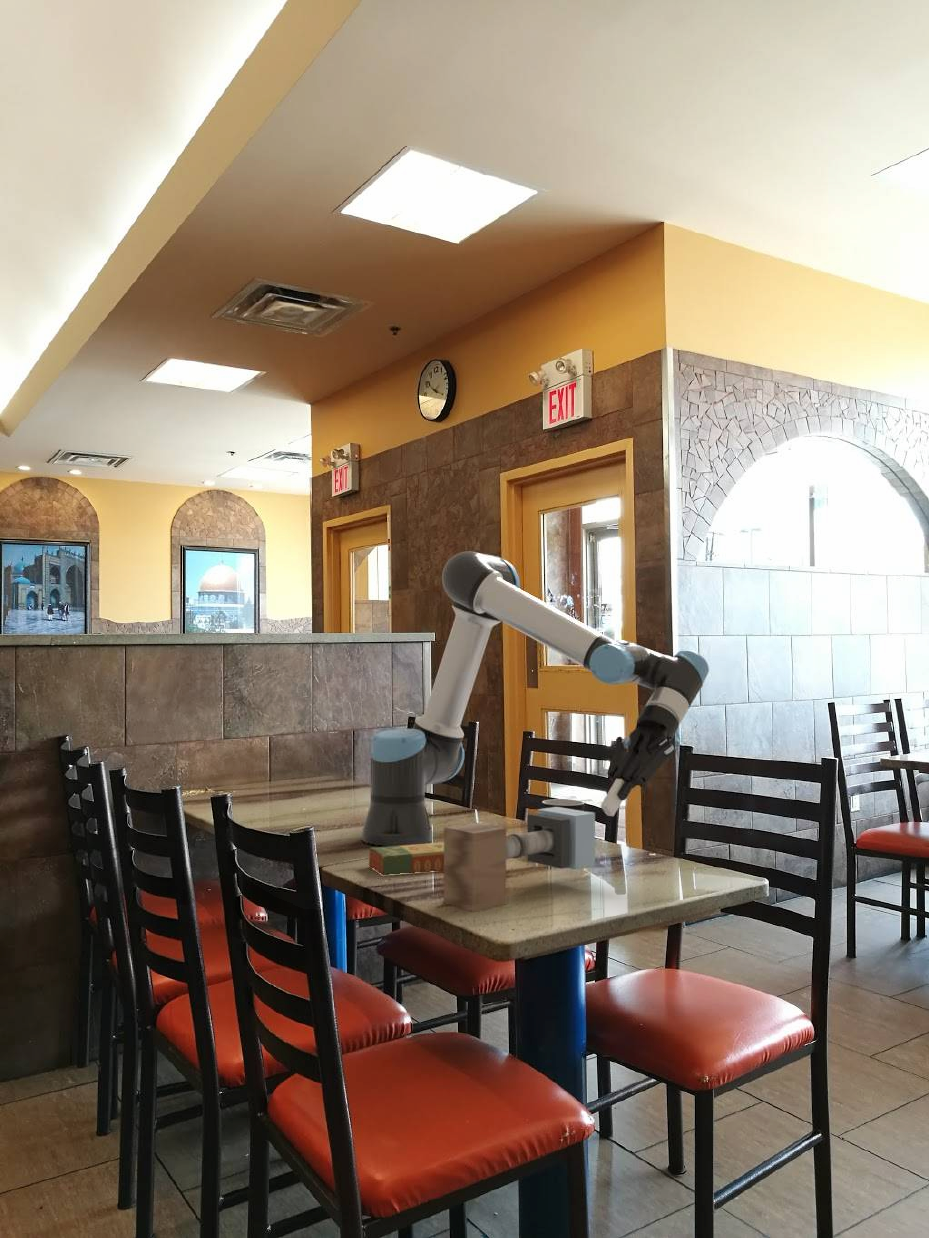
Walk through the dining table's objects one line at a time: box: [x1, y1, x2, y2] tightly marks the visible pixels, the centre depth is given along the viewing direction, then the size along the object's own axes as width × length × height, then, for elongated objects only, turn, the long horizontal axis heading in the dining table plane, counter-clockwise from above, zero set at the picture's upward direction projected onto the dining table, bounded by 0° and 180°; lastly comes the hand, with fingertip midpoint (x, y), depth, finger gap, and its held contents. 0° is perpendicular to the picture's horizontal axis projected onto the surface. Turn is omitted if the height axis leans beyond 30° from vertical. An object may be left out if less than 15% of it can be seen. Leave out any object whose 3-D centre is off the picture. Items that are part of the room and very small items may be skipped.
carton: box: [368, 841, 444, 875], centre depth 177 cm, size 8×16×4 cm, turn 112°
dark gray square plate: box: [526, 812, 570, 869], centre depth 163 cm, size 8×2×8 cm, turn 42°
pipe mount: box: [443, 822, 554, 913], centre depth 159 cm, size 7×30×12 cm, turn 132°
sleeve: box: [537, 807, 596, 870], centre depth 166 cm, size 9×5×9 cm, turn 42°
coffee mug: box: [541, 798, 585, 811], centre depth 195 cm, size 12×9×10 cm
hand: (606, 811), depth 173 cm, fingers closed
